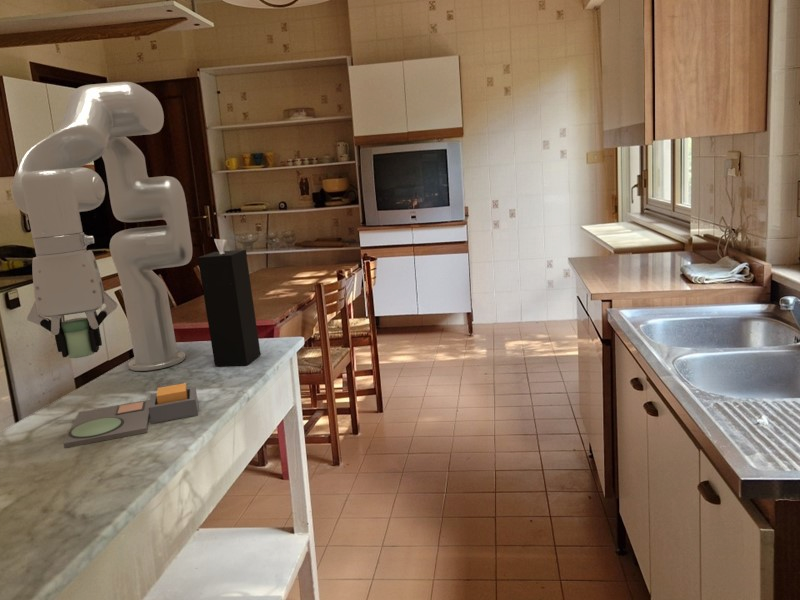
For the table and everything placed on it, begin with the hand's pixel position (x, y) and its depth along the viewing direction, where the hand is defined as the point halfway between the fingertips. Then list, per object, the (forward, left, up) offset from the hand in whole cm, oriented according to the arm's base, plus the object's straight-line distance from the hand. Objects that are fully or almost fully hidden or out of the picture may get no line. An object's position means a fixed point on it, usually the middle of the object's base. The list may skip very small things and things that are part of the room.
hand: (81, 351), depth 116 cm
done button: (-3, +13, -13) cm, 18 cm away
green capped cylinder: (0, 0, 0) cm, 0 cm away
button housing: (-3, +13, -15) cm, 20 cm away
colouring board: (-3, +2, -15) cm, 15 cm away
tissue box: (-31, +26, -15) cm, 43 cm away
